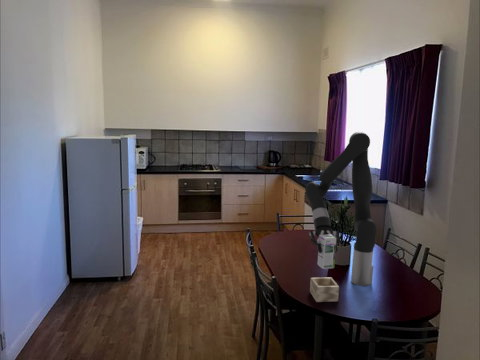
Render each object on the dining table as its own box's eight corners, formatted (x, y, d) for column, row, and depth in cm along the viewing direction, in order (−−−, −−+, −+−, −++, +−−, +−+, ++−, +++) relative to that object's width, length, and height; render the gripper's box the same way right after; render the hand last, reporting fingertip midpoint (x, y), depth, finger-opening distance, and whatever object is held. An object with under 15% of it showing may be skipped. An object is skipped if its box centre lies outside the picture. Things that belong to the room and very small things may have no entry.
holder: (330, 291, 184) (331, 277, 182) (338, 301, 174) (339, 286, 173) (309, 291, 182) (310, 277, 181) (316, 301, 172) (317, 287, 171)
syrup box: (322, 269, 172) (325, 238, 170) (316, 264, 178) (319, 234, 175) (334, 268, 174) (336, 237, 171) (328, 263, 179) (330, 233, 177)
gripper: (308, 215, 179) (314, 249, 169) (338, 215, 180) (346, 248, 171) (304, 223, 185) (310, 256, 175) (333, 223, 186) (340, 255, 177)
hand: (328, 252), depth 173 cm, fingers closed on syrup box, 6 cm apart
